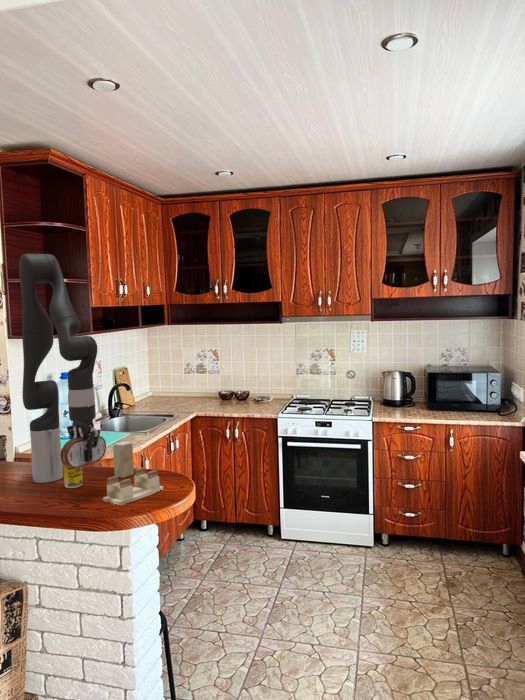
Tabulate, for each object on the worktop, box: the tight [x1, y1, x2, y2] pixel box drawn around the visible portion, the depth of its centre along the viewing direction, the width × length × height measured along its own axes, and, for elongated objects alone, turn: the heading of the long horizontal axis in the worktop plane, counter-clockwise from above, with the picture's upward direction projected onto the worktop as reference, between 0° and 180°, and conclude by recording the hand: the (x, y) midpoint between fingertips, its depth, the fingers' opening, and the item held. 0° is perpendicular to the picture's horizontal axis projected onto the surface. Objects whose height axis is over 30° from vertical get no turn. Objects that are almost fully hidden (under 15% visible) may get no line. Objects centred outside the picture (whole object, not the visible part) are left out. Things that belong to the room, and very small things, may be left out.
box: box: [112, 440, 135, 478], centre depth 179 cm, size 5×4×11 cm
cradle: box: [102, 467, 165, 507], centre depth 157 cm, size 8×16×6 cm, turn 142°
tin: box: [60, 435, 107, 468], centre depth 158 cm, size 15×3×8 cm, turn 147°
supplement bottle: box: [62, 463, 84, 489], centre depth 169 cm, size 6×6×10 cm
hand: (85, 460), depth 158 cm, fingers closed on tin, 3 cm apart
